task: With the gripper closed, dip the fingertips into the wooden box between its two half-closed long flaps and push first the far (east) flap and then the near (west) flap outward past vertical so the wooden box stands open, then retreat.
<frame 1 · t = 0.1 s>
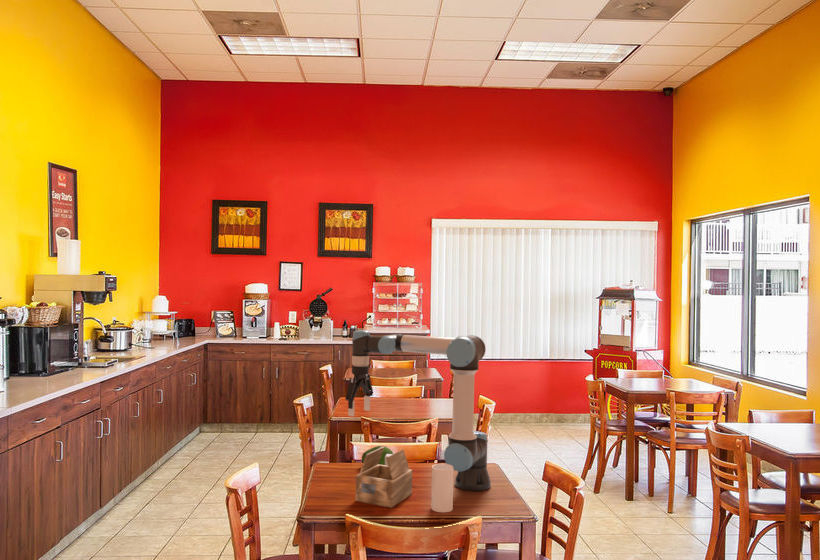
hand: (359, 413, 276), 28 cm above the table, fingers open, 13 cm apart
cup: (441, 509, 238), on the table
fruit: (377, 467, 290), on the table
ink box: (394, 483, 268), on the table
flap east: (372, 459, 252), point 14 cm above the table, hinge at -20.0°
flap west: (397, 463, 247), point 14 cm above the table, hinge at -20.0°
wooden box: (384, 497, 249), on the table
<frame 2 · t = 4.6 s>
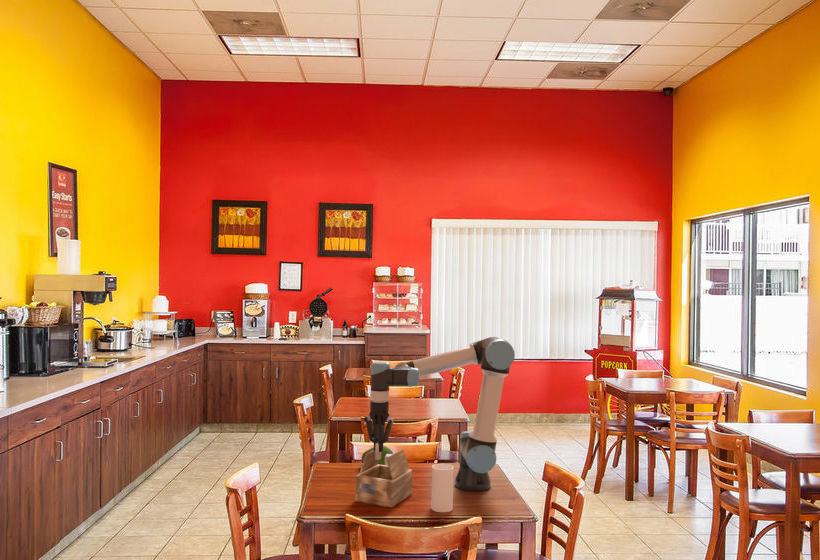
hand: (378, 459, 251), 15 cm above the table, fingers closed
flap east: (372, 459, 252), point 15 cm above the table, hinge at -17.4°, touching gripper
everything else where it was.
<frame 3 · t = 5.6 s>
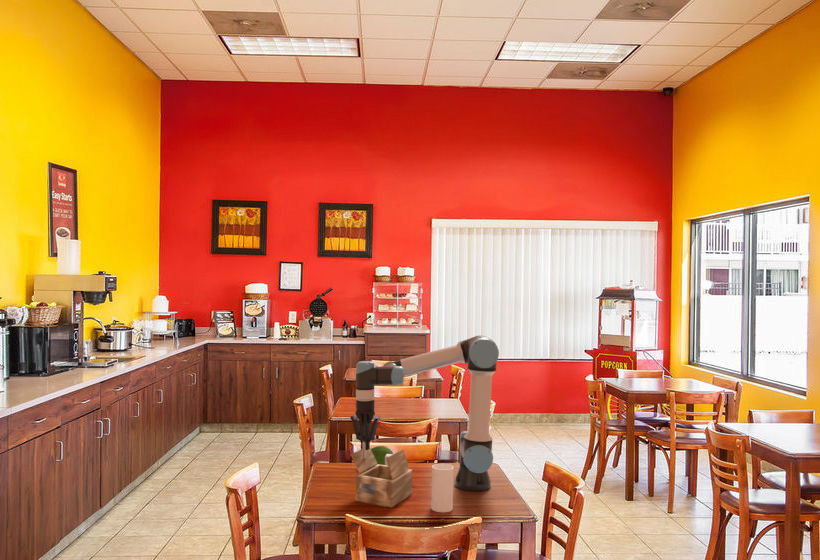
hand: (365, 457, 253), 15 cm above the table, fingers closed
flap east: (364, 459, 253), point 14 cm above the table, hinge at 32.2°, touching gripper
everything else where it was.
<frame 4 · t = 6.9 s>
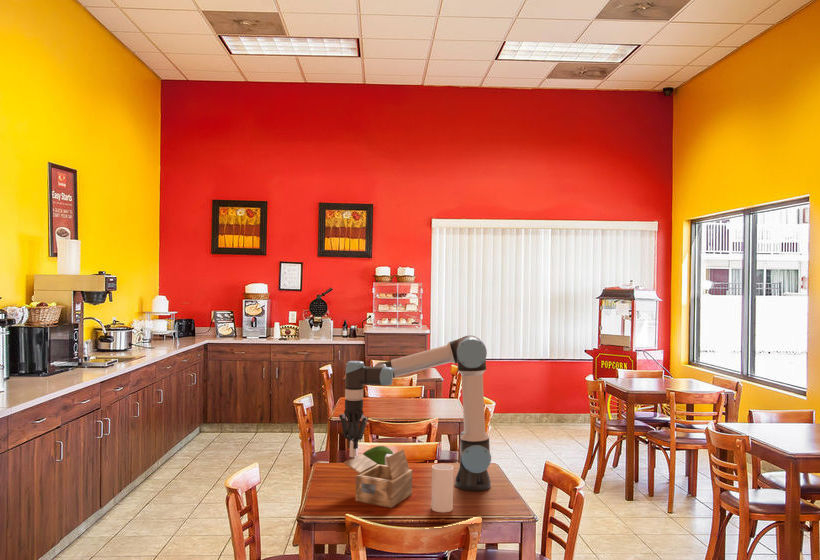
hand: (352, 456, 256), 14 cm above the table, fingers closed
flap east: (360, 463, 254), point 12 cm above the table, hinge at 67.2°
everything else where it was.
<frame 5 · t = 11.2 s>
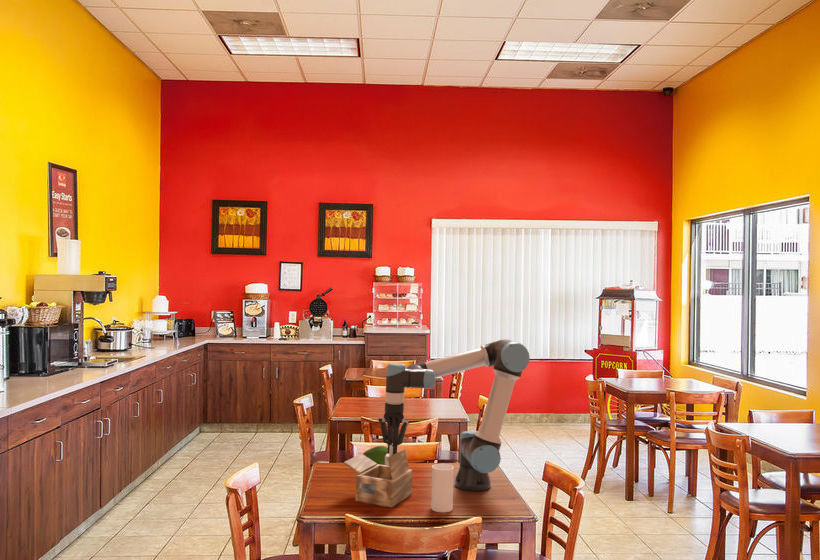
hand: (391, 461, 248), 15 cm above the table, fingers closed
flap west: (398, 463, 247), point 15 cm above the table, hinge at -15.3°, touching gripper
everything else where it was.
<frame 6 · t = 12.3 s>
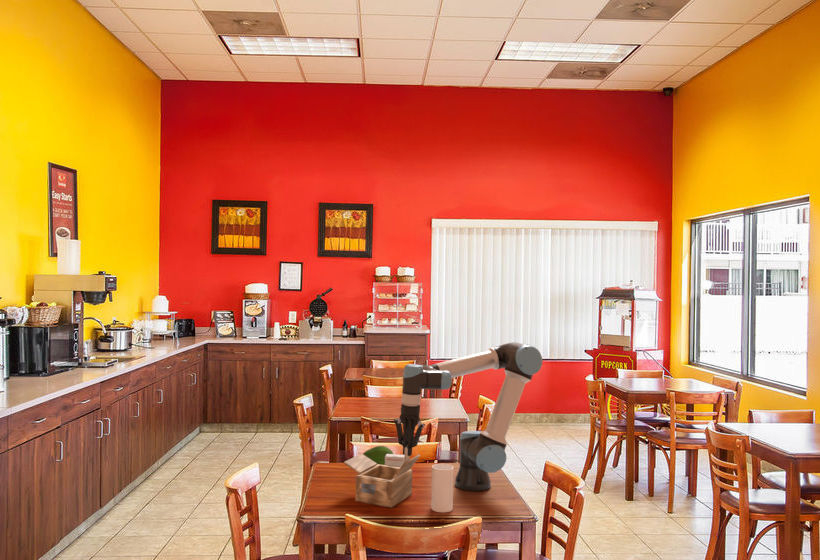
hand: (406, 463, 245), 15 cm above the table, fingers closed
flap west: (406, 466, 245), point 14 cm above the table, hinge at 35.9°, touching gripper
everything else where it was.
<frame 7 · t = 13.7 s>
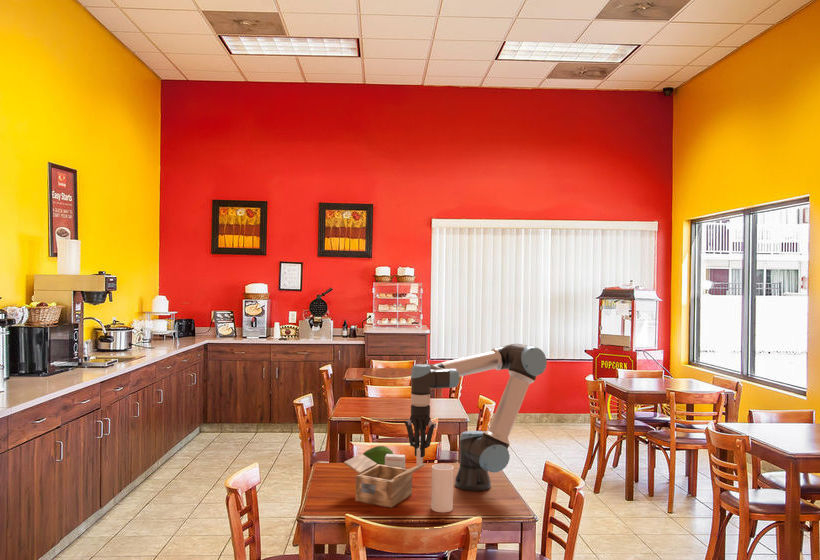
hand: (419, 464, 243), 15 cm above the table, fingers closed
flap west: (410, 471, 244), point 12 cm above the table, hinge at 65.6°
everything else where it was.
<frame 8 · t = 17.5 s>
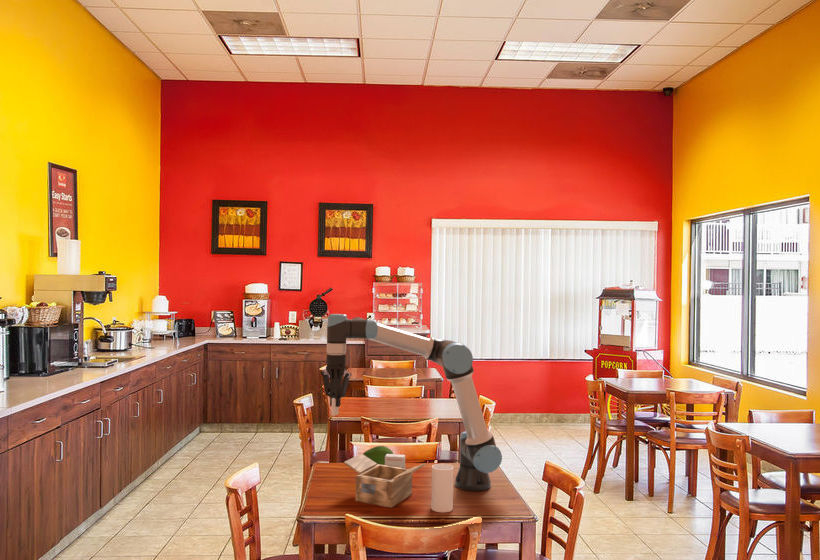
hand: (334, 414, 241), 34 cm above the table, fingers closed
nothing on the table moved.
at the end: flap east at +67° (first picture: -20°); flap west at +66° (first picture: -20°) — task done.
